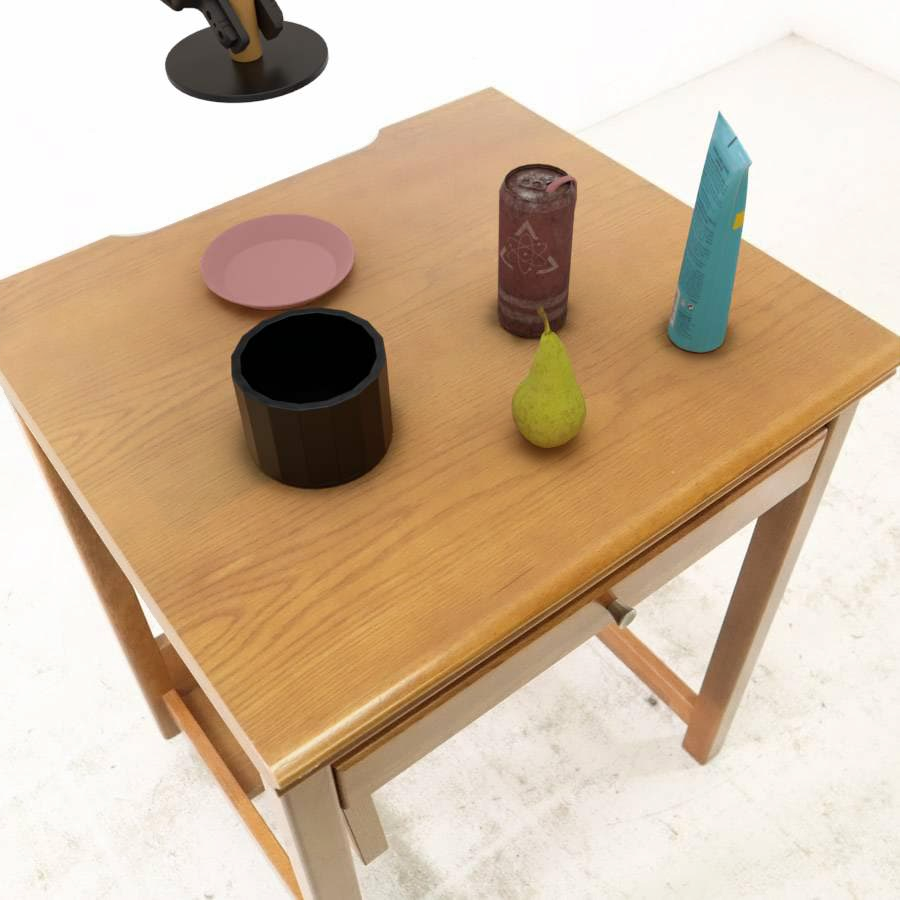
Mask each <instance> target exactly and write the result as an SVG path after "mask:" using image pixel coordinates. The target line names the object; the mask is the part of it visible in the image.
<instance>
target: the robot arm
mask: <svg viewBox="0 0 900 900" xmlns="http://www.w3.org/2000/svg"><path fill="white" fill-rule="evenodd" d="M160 1H161V2H162V3H163V4H164V5H166V6H167V7H168V8H170V9H171V10H172V11H174V12H182V11H183V10H184V9H195V10H197V11H199V12H200V13H201V14H202V15H203V17H204V18H205V20H206V22H207V24H208V25H209V27H211V28H212V30H213V31H214V33H215V35H216V36H217V38H218V40H219V42H220V43H221V45H222V46H224V47H225V48H226V49H229V48H230V49H231V51H232V52H233V53H234V54H239V53H241V52H243V51H245V49H246V48H247V46H248V45H249V43H250V37H249V35H248V33H247V31H246V30H245V28H244V26H243V25H242V23H241V21H240V20H239V18H238V16H237V14H236V13H235V11H234V9H233V8H232V6H231V4H230V3H229V1H228V0H160ZM254 4H255V10H256V16H257V22H258V27H259V29H260V31H261V32H262V34H263V36H264V38H265V39H266V40H268V41H269V40H272V39H274V38H276V37H277V36H278V35H279V33H280V32H281V31H282V29H283V24H282V21H283V20H284V19H285V18H284V14H283V13H284V12H283V11H282V9H281V7H280V6H279V3H278V2H277V0H254ZM284 21H285V20H284Z"/></svg>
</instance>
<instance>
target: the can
mask: <svg viewBox="0 0 900 900" xmlns="http://www.w3.org/2000/svg"><path fill="white" fill-rule="evenodd" d="M577 201H578V181H577V180H576V178H575V177H574V176H572V175H570V174H568V173H567V171H566V170H564V169H561V168H560V167H559V166H555V165H551V164H546V163H527V164H523V165H519V166H516V167H515V168H513V169H511V170H510V171H509V172H508V173H507V174H506V175H505V177H504V179H503V181H502V182H501V184H500V187H499V189H498V246H497V247H498V248H497V249H498V251H497V253H498V254H497V265H498V266H497V316H498V320H499V321H500V323H501V324H502V325H503V327H504V328H505V329H506V330H507V331H509V332H510V333H512V334H514V335H516V336H518V337H522V338H528V339H534V338H535V339H536V338H541V336H542V334H543V333H544V331H545V324H544V320H543V319H542V317H541V316H540V315H539V314H538V312H537V307H538V306H542V307H543V310H544V312H545V314H546V316H547V320H548V324H549V328H550V331H552V332H553V333H555V332H557V331H558V330H559V329H560V328H561V326H562V325H563V324H564V323H565V322H566V319H567V316H568V307H569V291H570V279H571V278H570V277H571V266H572V251H573V240H574V239H573V238H574V223H575V211H576V206H577Z"/></svg>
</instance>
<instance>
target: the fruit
mask: <svg viewBox="0 0 900 900" xmlns="http://www.w3.org/2000/svg"><path fill="white" fill-rule="evenodd" d="M537 312H538V314H539V315H540V316H541V317H542V319H543V320H544V324H545V331H544V333H543V334H542V336H541V337H540V339H539V340H540V341H539V345H538V348H537V350H536V351H535V354H534V356H533V359H532V363H531V367H530V368H529V369H530V370H529V372H528V373H527V375H526V377H525V378H524V379H523V380H522V381H520V382H519V384H518V386H517V387H516V388H515V390H514V393H513V395H512V399H511V416H512V420H513V422H514V424H515V426H516V428H517V429H518V431H519V432H520V434H521V435H522V436H523V437H524V438H525V439H526V440H527V441H528V442H529V443H531V444H533V445H534V446H536V447H539V448H544V449H547V448H548V449H550V448H555V447H559V446H562V445H564V444H566V443H568V442H569V441H570V440H572V439H573V438H574V437H575V436H576V435H577V434H578V433H579V432H580V431H581V429H582V427H583V425H584V423H585V420H586V415H587V405H586V404H587V403H586V399H585V396H584V393H583V391H582V388H581V386H580V385H579V383H578V381H577V378H576V377H575V376H576V375H575V373H574V369H573V368H574V367H573V365H572V361H571V358H570V355H569V353H568V350H567V348H566V347H565V344H564V343H563V342H562V341H561V339H560V337H558V335H557V334H556V333H555V332H552V331H550V328H549V324H548V320H547V316H546V314H545V312H544V310H543V307H542V306H538V307H537Z"/></svg>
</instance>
